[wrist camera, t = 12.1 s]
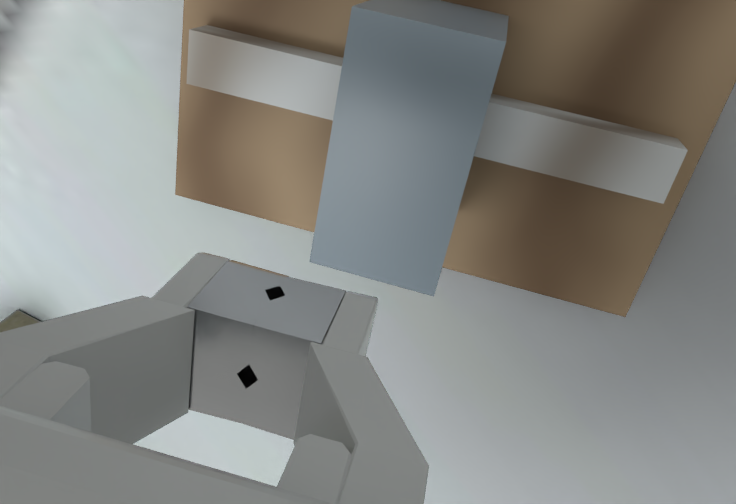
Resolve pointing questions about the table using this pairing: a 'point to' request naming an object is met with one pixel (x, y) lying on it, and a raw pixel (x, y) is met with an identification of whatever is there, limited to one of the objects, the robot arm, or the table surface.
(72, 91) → the table surface
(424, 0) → the block
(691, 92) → the striped wooden board
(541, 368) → the table surface
